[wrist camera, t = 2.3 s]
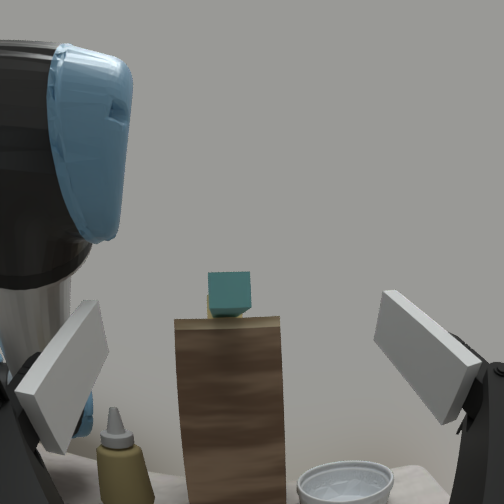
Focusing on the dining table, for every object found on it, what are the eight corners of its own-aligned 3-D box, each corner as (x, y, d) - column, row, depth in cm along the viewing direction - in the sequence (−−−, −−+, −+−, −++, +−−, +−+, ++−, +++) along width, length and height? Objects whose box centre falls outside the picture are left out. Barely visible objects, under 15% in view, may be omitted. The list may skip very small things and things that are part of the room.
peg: (260, 310, 26) (258, 267, 27) (200, 312, 26) (199, 269, 27) (241, 319, 49) (240, 296, 50) (208, 320, 48) (207, 297, 49)
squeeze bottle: (129, 535, 26) (107, 419, 30) (94, 512, 30) (73, 405, 34) (169, 515, 33) (155, 409, 37) (133, 498, 37) (118, 399, 41)
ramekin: (296, 498, 39) (296, 463, 40) (378, 489, 37) (381, 454, 39) (295, 544, 26) (296, 506, 28) (399, 530, 24) (406, 490, 26)
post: (286, 530, 29) (279, 316, 36) (194, 536, 28) (174, 319, 35) (272, 493, 41) (264, 319, 48) (198, 497, 40) (184, 321, 47)
